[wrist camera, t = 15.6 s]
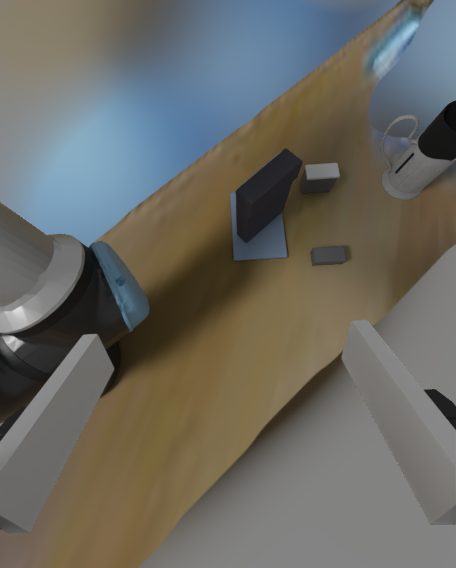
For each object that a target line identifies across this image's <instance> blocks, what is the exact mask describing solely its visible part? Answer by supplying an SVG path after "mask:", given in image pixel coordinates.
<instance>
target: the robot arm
mask: <svg viewBox="0 0 456 568" xmlns="http://www.w3.org/2000/svg"><path fill="white" fill-rule="evenodd" d="M149 311H150V305H149V302H148V299H147V297H146V295H145V294H144V292H143V290H142V288H141V287H140V285H139V284H138V282H137V281H136V279H135V278H134V276H133V275H132V273H131V272H130V270H129V269H128V268H127V266H126V265H125V263H124V262H123V261H122V260H121V258H120V257H119V256H118V255H117V253H116V252H115V251H114V250H113V249H112V248H111V247H110V246H109V245H108V244H107V243H105V242H103V241H98V242H96V243H92V244H91V245H90V247H89V248H88V247H86V246H85V245H84V244H82V243H81V242H80V241H79V240H77V239H76V238H74V237H73V236H70V235H66V234H54V235H46V234H44V233H43V232H41V231H40V230H39V229H37V228H36V227H35V226H33V225H32V224H30V223H29V222H27V221H26V220H25V219H23V218H22V217H20V216H19V215H18V214H16V213H15V212H13V211H12V210H11V209H9V208H8V207H6V206H5V205H4V204H2V203H1V202H0V423H2V422H4V423H3V424H2V425H1V427H0V529H2V530H4V531H6V532H8V533H30V532H31V530H32V528H33V526H34V524H35V522H36V520H37V518H38V516H39V514H40V513H41V511H42V509H43V507H44V505H45V503H46V501H47V499H48V497H49V495H50V493H51V491H52V489H53V487H54V485H55V483H56V481H57V479H58V478H59V476H60V474H61V472H62V470H63V468H64V466H65V464H66V462H67V460H68V458H69V456H70V454H71V452H72V450H73V448H74V446H75V445H76V443H77V441H78V439H79V437H80V435H81V433H82V431H83V429H84V427H85V425H86V423H87V421H88V419H89V417H90V415H91V413H92V412H93V410H94V408H95V406H96V404H97V402H98V400H99V398H100V396H101V395H103V394H104V393H105V392H106V391H107V390H108V389H109V387H110V386H111V385H112V383H113V382H114V380H115V378H116V376H117V373H118V370H119V365H120V350H119V346H118V343H117V341H118V340H120V339H121V338H123V337H124V336H125V335H127V334H128V333H129V332H132V331H133V328H135V327H136V326H137V325H138V324H139V323H141V322H142V321H143V320H144V319H145V318H146V317H147V316H148V314H149ZM342 360H343V362H344V364H345V366H346V368H347V370H348V372H349V373H350V375H351V377H352V379H353V381H354V383H355V385H356V386H357V388H358V390H359V392H360V394H361V396H362V398H363V400H364V401H365V403H366V405H367V407H368V409H369V411H370V413H371V415H372V416H373V418H374V420H375V422H376V424H377V426H378V427H379V429H380V431H381V433H382V435H383V437H384V439H385V441H386V443H387V444H388V446H389V448H390V450H391V452H392V454H393V456H394V457H395V459H396V461H397V463H398V465H399V467H400V468H401V471H402V472H403V474H404V476H405V478H406V480H407V482H408V483H409V485H410V487H411V489H412V491H413V493H414V495H415V497H416V499H417V500H418V502H419V504H420V506H421V508H422V510H423V511H424V513H425V515H426V517H427V519H428V521H429V523H430V524H431V525H450V524H456V406H455V405H454V403H453V402H452V401H450V400H449V399H447V398H446V397H445V396H444V395H442V394H441V393H440V392H438V391H437V390H435V389H432V390H431V389H430V390H423V389H422V388H421V386H420V385H419V384H418V383H417V382H416V380H415V379H414V378H413V377H412V375H411V374H410V373H409V371H408V370H407V369H406V368H405V366H404V365H403V364H402V363H401V362H400V360H399V359H398V358H397V356H396V355H395V354H394V353H393V352H392V350H391V349H390V348H389V347H388V345H387V344H386V343H385V342H384V340H383V339H382V338H381V337H380V335H379V334H378V333H377V332H376V330H375V329H374V328H373V327H372V325H371V324H370V323H369V322H368V320H353V321H351V324H350V328H349V332H348V335H347V339H346V343H345V346H344V350H343V354H342Z"/></svg>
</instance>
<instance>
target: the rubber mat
mask: <svg viewBox="0 0 456 568" xmlns="http://www.w3.org/2000/svg"><path fill="white" fill-rule="evenodd" d="M230 197H231V216H232V235H233V254H234V261H242V260H259V259H276V258H287V251H286V242H285V233H284V224H283V215H282V213H280V214H279V215H278V216H277V217H276V218H275V219H274V220H273V221H271V222H270V223H269V224H268V225H267V226H266V227H265V228H264V229H262V230H261V231H260V232H259V233H258V234H257V235H256V236H254V237H253V238H252V239H251V240H250V241H249V242H248V243H245V242H244V241H243V240H242V239H241V238H240V237H239V236H238V235H237V223H236V193H230Z"/></svg>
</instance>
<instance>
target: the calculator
mask: <svg viewBox="0 0 456 568" xmlns="http://www.w3.org/2000/svg"><path fill="white" fill-rule="evenodd" d="M301 165H302V161H301V160H300V159H299V158H298V157H296V156H295V155H294V154H293V153H291V152H290V151H289V150H288V149H284V150H283V151H281V152H279V153H278V154H277V155H276V156H275V157H273V158H272V159H271V160H270V161H269V162H267V163H266V164H265V165H264V166H263V167H261V168H260V169H259V170H258V171H257V172H256V173H254V174H253V175H252V176H251V177H250V178H248V179H247V180H246V181H245V182H244V183H242V184H241V185H240V186H239V187H238V188H237V189H236V223H237V235H238V236H239V237H240V238H241V239H242V240H243V241H244V242H245V243H248V242H249V241H250V240H251V239H252V238H253V237H254V236H256V235H257V234H258V233H259V232H260V231H261V230H262V229H264V228H265V227H266V226H267V225H268V224H269V223H270V222H271V221H273V220H274V219H275V218H276V217H277V216H278V215H279V214H280V213H282V211H283V209H284V206H285V203H286V200H287V197H288V194H289V190H290V187H291V184H292V181H293V180H295V179H296V178H297V176H298V174H299V171H300V168H301Z"/></svg>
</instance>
